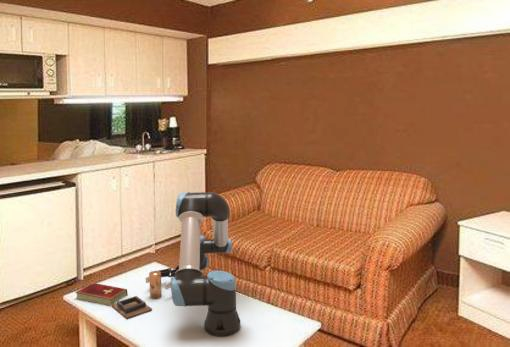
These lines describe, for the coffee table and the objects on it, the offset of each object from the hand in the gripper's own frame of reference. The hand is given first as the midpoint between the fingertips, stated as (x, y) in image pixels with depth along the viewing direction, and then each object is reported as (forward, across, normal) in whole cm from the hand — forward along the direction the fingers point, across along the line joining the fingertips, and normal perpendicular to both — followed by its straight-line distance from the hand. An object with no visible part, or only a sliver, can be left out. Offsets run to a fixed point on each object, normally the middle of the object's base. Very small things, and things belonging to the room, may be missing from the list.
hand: (155, 283), depth 207 cm
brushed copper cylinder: (+1, 0, -6) cm, 6 cm away
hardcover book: (+16, +21, -7) cm, 27 cm away
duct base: (+16, -1, -6) cm, 17 cm away
